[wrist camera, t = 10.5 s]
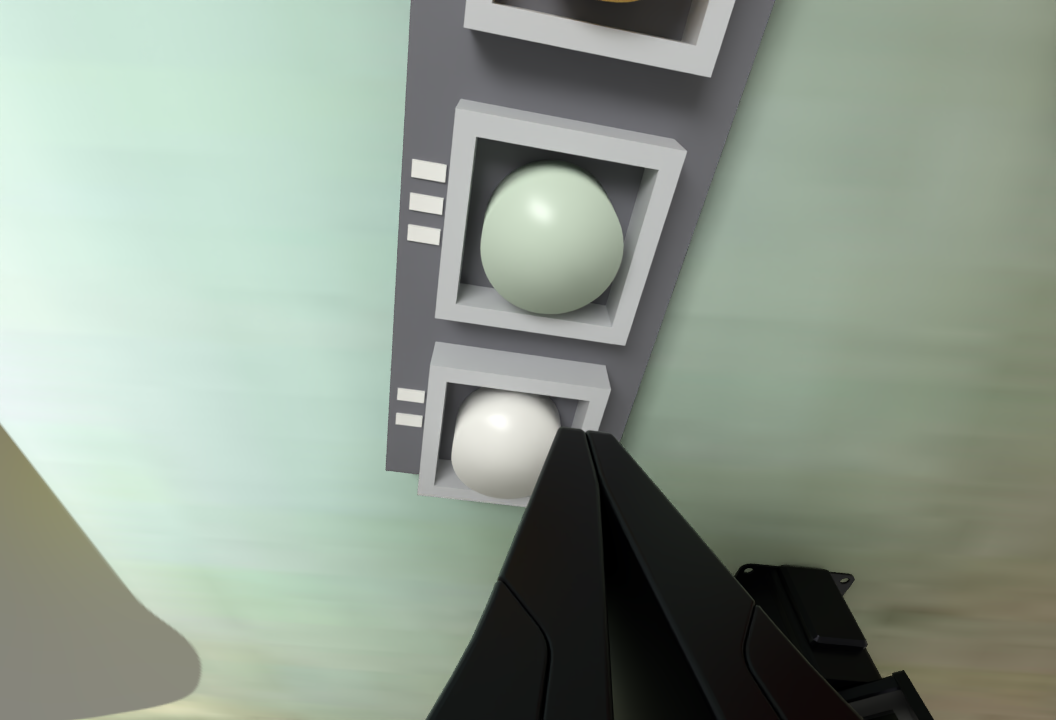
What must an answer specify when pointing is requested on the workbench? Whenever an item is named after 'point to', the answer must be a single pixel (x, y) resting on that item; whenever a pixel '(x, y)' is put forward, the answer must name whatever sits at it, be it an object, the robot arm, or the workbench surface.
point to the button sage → (550, 238)
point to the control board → (549, 134)
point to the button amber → (619, 0)
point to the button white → (503, 441)
